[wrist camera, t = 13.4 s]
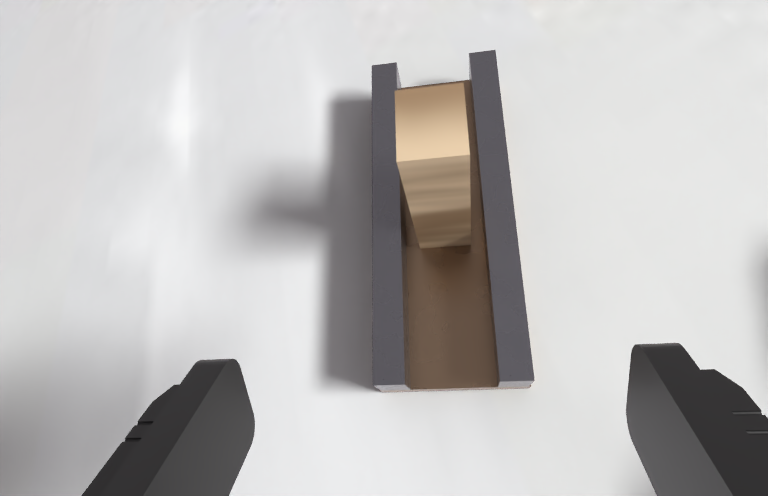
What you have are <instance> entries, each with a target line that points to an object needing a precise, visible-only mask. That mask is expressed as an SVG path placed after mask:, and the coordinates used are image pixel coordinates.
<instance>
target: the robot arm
mask: <svg viewBox="0 0 768 496" xmlns="http://www.w3.org/2000/svg"><path fill="white" fill-rule="evenodd" d="M626 415H627V423H628V429H629V433H630V436H631V439H632V442H633V444H634V446H635V448H636V451H637V453H638V455H639V457H640V459H641V462H642V464H643V466H644V468H645V470H646V472H647V475H648V477H649V479H650V481H651V483H652V486H653V488H654V490H655V492H656V494H657V496H768V418H767V417H766V416H765V415H762V413H761V410H760V408H759V407H758V406H757V405H756V404H755V402H754V401H753V400H752V399H751V398H750V396H749V395H748V394H747V393H746V391H745V390H744V389H743V388H742V387H740V386H739V385H737V384H736V383H734V382H733V381H731V380H730V379H728V378H727V377H725V376H724V375H722V374H721V373H719V372H718V371H716V370H715V369H711V370H700V369H699V367H698V366H697V365H696V363H695V362H694V361H693V359H692V358H691V357H690V355H689V354H688V353H687V351H686V350H685V349H684V347H683V346H682V345H680V344H679V343H664V344H638V345H634V347H633V349H632V353H631V362H630V373H629V384H628V394H627V405H626ZM254 429H255V420H254V414H253V410H252V407H251V403H250V400H249V396H248V393H247V389H246V386H245V382H244V379H243V375H242V372H241V368H240V365H239V363H238V362H237V361H236V360H235V359H217V360H200V361H198V362H196V363H195V364H194V366H193V367H192V369H191V370H190V371H189V373H188V374H187V375H186V377H185V378H184V380H183V381H182V382H181V384H180V385H174V386H172V387H171V388H170V389H168V390H167V391H166V392H165V393H163V394H162V395H161V396H159V397H158V398H157V399H156V400H154V401H153V402H152V403H151V405H150V406H149V407H148V409H147V410H146V411H145V413H144V414H143V415H142V417H141V418H140V419H139V420H138V425H135V426H134V427H133V428H132V430H131V431H130V432H129V434H128V435H127V436H126V438H125V442H122V443H121V444H120V446H119V447H118V448H117V450H116V451H115V452H114V453H113V455H112V456H111V457H110V459H109V460H108V461H107V463H106V464H105V465H104V467H103V468H102V469H101V471H100V472H99V473H98V475H97V476H96V477H95V479H94V480H93V481H92V483H91V484H90V485H89V486H88V488H87V489H86V490H85V492H84V493H83V494H82V496H229V494H230V492H231V489H232V487H233V485H234V483H235V480H236V478H237V476H238V474H239V471H240V469H241V467H242V465H243V462H244V460H245V458H246V456H247V453H248V451H249V449H250V447H251V444H252V441H253V437H254Z"/></svg>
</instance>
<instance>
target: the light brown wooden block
mask: <svg viewBox="0 0 768 496" xmlns="http://www.w3.org/2000/svg"><path fill="white" fill-rule="evenodd" d="M395 123H396V162H397V166H398V169H399V173H400V177H401V180H402V184H403V188H404V191H405V195H406V199H407V202H408V206H409V210H410V213H411V217H412V221H413V224H414V228H415V232H416V235H417V239H418V243H419V246H420V249H422V248H436V247H450V246H464V245H471V200H470V149H469V138H468V126H467V115H466V104H465V92H464V83H456V84H447V85H439V86H430V87H422V88H414V89H405V90H397V91H395Z"/></svg>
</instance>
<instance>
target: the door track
mask: <svg viewBox="0 0 768 496" xmlns="http://www.w3.org/2000/svg"><path fill="white" fill-rule="evenodd" d="M456 83H464V92H465V104H466V115H467V126H468V138H469V149H470V200H471V245H464V246H450V247H436V248H422V249H420V246H419V243H418V239H417V235H416V232H415V228H414V224H413V221H412V217H411V213H410V210H409V206H408V202H407V199H406V195H405V191H404V188H403V184H402V180H401V177H400V173H399V169H398V166H397V162H396V123H395V91H397V90H405V89H414V88H422V87H430V86H439V85H447V84H456ZM372 238H373V386H375V387H376V388H378V389H380V391H381V392H413V391H448V390H483V389H518V388H530V387H531V384H532V383H533V382H534V373H533V364H532V356H531V348H530V339H529V331H528V322H527V314H526V305H525V297H524V288H523V280H522V272H521V263H520V255H519V246H518V238H517V229H516V221H515V212H514V204H513V196H512V187H511V179H510V170H509V162H508V153H507V145H506V137H505V128H504V120H503V111H502V103H501V94H500V86H499V77H498V69H497V61H496V52H495V50H491V51H483V52H475V53H469V80H465V81H456V82H448V83H440V84H431V85H423V86H414V87H406V88H401V83H400V78H399V73H398V68H397V63H389V64H381V65H373V66H372Z"/></svg>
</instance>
